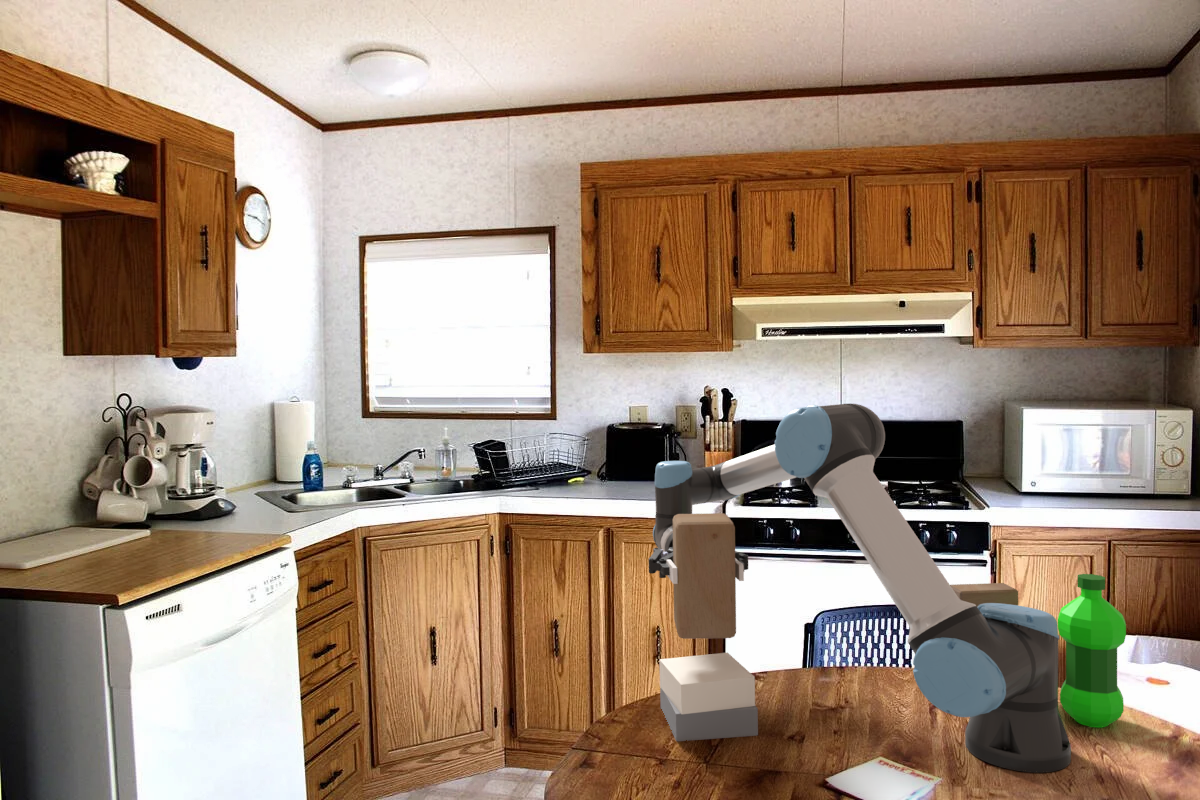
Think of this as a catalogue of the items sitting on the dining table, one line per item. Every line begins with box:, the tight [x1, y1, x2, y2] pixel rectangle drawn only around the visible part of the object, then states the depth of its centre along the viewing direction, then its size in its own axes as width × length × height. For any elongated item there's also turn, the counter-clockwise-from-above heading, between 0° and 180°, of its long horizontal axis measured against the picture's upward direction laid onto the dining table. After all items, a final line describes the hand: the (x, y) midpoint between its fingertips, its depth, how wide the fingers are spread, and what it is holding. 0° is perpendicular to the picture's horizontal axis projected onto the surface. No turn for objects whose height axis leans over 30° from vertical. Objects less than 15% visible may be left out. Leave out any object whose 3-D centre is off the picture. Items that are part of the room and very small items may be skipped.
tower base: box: [659, 686, 759, 742], centre depth 152 cm, size 14×14×5 cm
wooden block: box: [673, 512, 737, 640], centre depth 151 cm, size 10×10×20 cm
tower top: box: [658, 652, 756, 714], centre depth 152 cm, size 13×13×5 cm
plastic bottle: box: [1057, 573, 1127, 729], centre depth 148 cm, size 10×10×25 cm
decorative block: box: [949, 582, 1019, 607], centre depth 162 cm, size 11×6×20 cm, turn 91°
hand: (708, 574), depth 147 cm, fingers closed on wooden block, 11 cm apart
